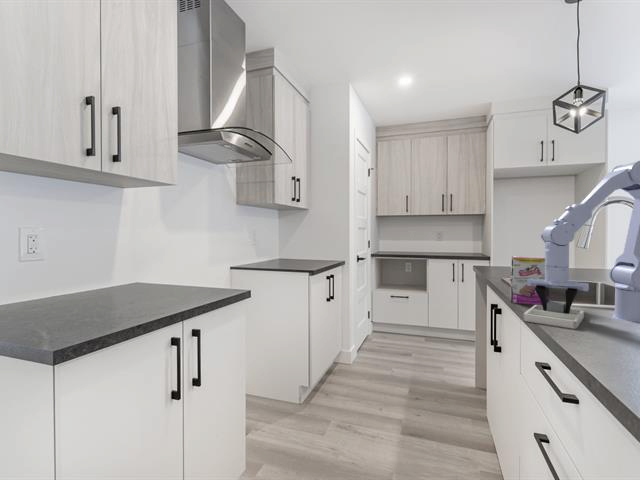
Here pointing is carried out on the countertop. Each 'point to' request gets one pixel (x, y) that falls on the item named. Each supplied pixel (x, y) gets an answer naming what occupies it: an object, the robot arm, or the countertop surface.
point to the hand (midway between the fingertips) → (556, 312)
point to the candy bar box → (520, 273)
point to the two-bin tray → (554, 317)
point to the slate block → (556, 306)
